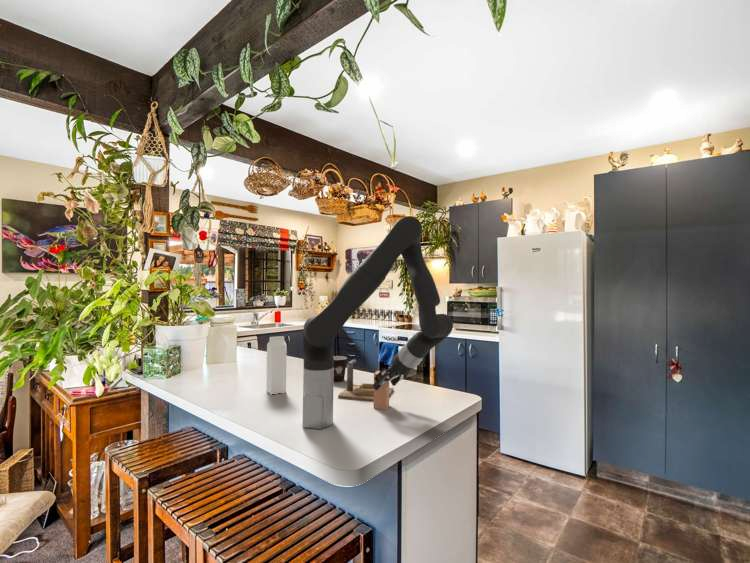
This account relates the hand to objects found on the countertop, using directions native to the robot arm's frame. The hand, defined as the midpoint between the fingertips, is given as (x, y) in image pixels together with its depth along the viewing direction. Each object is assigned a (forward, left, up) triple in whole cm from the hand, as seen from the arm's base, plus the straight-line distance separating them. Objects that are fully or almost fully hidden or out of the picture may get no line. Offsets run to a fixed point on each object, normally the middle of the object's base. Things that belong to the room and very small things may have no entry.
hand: (383, 385), depth 131 cm
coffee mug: (+30, +30, -8) cm, 43 cm away
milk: (+6, +45, -8) cm, 46 cm away
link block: (+1, +1, -8) cm, 8 cm away
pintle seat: (+14, +10, -8) cm, 18 cm away
